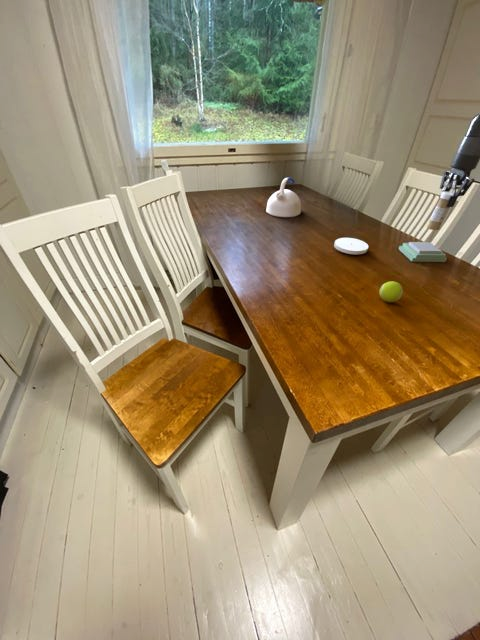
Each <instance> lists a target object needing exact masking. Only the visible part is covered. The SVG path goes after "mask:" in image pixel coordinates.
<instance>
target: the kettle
mask: <svg viewBox="0 0 480 640" xmlns="http://www.w3.org/2000/svg"><path fill="white" fill-rule="evenodd" d="M288 181H289V182H290V184H292V185H294V184H295V181H294V179H293V178H292V177H284V179H283V180H282V181H281V184H280V186H279V187H280V188H279V190H277V191H275V192H274V193H273V194H272V195H271V196H270V197H269V198H268V200H267V202H266V208H265V209H266V210H265V212H266V213H267V214H268V215H270V216H273V217H279V218H293V217H297V216H299V215H300V214H301V213H302V202H301V199H300V198H299V196H298V195H297V193H296V192H294V191H292V190H291V189H290V188H288V189H285V187H286V184H287V182H288Z"/></svg>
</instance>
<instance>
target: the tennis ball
mask: <svg viewBox="0 0 480 640" xmlns="http://www.w3.org/2000/svg"><path fill="white" fill-rule="evenodd" d="M378 293H379V297H380V299H381V300H383V301H384V302H387V303H394V302H397V301H399V300H400V299H401V298H402V296H403V294H404V289H403V286H402V285H401V284H400V283H399V282H397V281H392V280H391V281H387V282H385V283H383V284H382V285H381V286H380V288H379V291H378Z"/></svg>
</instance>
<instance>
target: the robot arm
mask: <svg viewBox="0 0 480 640" xmlns="http://www.w3.org/2000/svg"><path fill="white" fill-rule="evenodd" d="M479 162H480V111H479V112H478V113H477V114H475V115H474V116H473V117H472V118H471V120H470V123H469V124H468V126H467V129H466V131H465V133H464V136H463V138H462V140H461V141H460V142H459V145H458V147H457V149H456V152H455V154H454V156H453V158H452V160H451V163H450V168H451V169H450V170H445V171H444V172H443V174H442V178H441V181H440V185H439V190H441V193H442V192H452V195H451V196H450V199H449V201H448V203H447V205H446V206H447V207H450V208H453V207H454V206H455V204H456V202H457V200H458V198H459V197H464V196H465V195H466V193H467V192H468V191H469V189H470V188H471V187H472V185H473V184H474V182H475V178H471V177H470V176H471V172H472V171H474V170H475V169H476V168H477V166H478V165H479ZM451 190H452V191H451ZM439 200H440V197H439V198H438V201H437V203H438V202H439Z"/></svg>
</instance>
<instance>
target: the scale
mask: <svg viewBox="0 0 480 640" xmlns="http://www.w3.org/2000/svg"><path fill="white" fill-rule="evenodd" d="M408 244H409V242H403V243H402V245H399V246H398V250H399V251H400V252H401V254H403V255H404V256H405V257H406V258H407V259H408V260H409V261H410V262H411V263H417V262H418V263H446V262H447V260H448V258H447V254H445V253H444V252H443V251H442V252H441V254H418V253H417V252H416V251H415V250H414V249H413V248H411V247H410V246H409V245H408Z"/></svg>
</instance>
